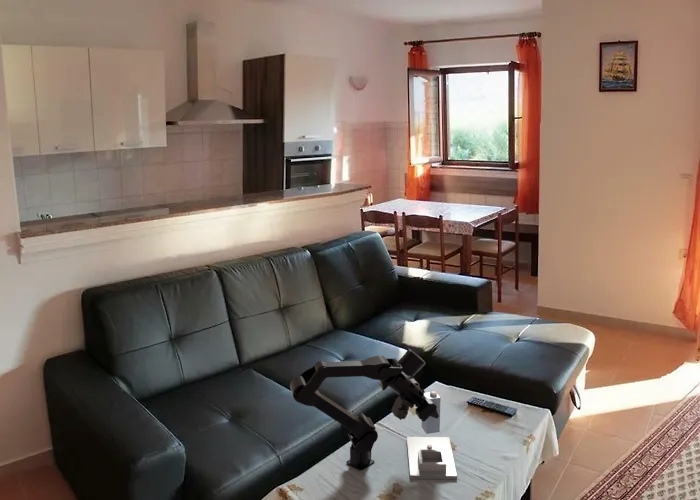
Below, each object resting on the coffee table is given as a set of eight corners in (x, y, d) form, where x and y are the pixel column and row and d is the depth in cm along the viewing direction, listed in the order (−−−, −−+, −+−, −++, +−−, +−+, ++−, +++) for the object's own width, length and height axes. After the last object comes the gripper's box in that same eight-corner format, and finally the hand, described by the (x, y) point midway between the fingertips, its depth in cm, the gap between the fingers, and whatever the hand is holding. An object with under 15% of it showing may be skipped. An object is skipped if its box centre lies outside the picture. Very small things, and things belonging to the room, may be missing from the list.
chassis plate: (457, 479, 195) (457, 468, 194) (410, 478, 196) (410, 468, 195) (448, 440, 216) (449, 430, 215) (406, 440, 217) (406, 430, 216)
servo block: (426, 433, 205) (427, 396, 202) (421, 427, 209) (422, 390, 206) (439, 432, 206) (440, 395, 203) (434, 425, 210) (435, 389, 207)
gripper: (376, 391, 210) (408, 418, 215) (394, 419, 193) (428, 447, 198) (399, 366, 210) (430, 393, 215) (419, 392, 192) (453, 420, 198)
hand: (435, 413), depth 207 cm, fingers closed on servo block, 4 cm apart
